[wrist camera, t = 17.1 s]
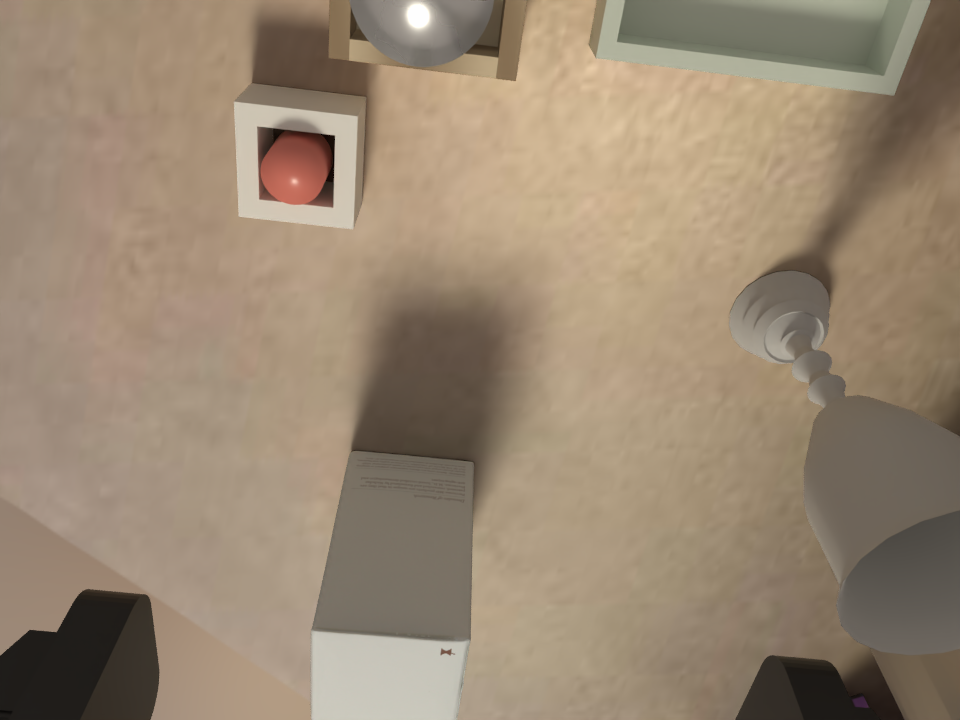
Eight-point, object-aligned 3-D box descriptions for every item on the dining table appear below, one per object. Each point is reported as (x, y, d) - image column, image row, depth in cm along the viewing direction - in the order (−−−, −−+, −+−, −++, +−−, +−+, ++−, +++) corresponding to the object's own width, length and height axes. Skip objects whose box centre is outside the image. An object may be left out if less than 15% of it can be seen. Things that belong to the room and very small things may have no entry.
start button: (333, 130, 35) (324, 148, 33) (332, 187, 36) (323, 208, 34) (272, 123, 35) (259, 140, 33) (273, 181, 36) (261, 201, 34)
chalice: (826, 227, 39) (1047, 472, 24) (870, 331, 42) (1089, 606, 27) (686, 298, 41) (806, 565, 26) (737, 392, 44) (871, 679, 29)
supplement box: (348, 446, 46) (308, 627, 36) (477, 459, 47) (476, 641, 36) (343, 539, 50) (306, 727, 40) (462, 550, 51) (457, 738, 40)
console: (366, 96, 36) (357, 116, 33) (361, 203, 38) (353, 229, 36) (251, 83, 35) (233, 101, 33) (254, 191, 38) (238, 216, 36)
